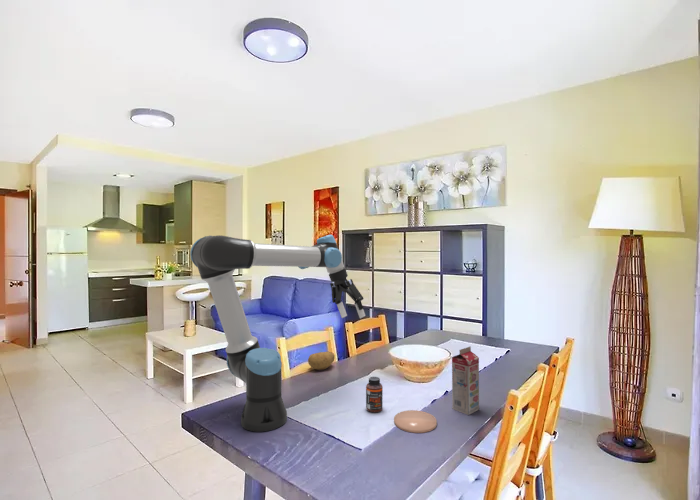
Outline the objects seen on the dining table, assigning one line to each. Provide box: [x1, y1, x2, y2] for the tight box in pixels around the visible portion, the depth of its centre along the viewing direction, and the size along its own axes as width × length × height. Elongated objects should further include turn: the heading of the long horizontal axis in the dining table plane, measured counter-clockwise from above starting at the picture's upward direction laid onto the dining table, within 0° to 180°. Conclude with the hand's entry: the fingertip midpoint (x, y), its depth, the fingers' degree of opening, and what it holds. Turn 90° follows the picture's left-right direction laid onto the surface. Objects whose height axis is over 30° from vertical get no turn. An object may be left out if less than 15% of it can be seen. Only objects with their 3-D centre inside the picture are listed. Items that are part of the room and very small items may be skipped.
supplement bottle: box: [365, 376, 384, 413], centre depth 136 cm, size 6×6×11 cm
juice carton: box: [451, 346, 480, 416], centre depth 135 cm, size 7×7×22 cm
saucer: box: [393, 409, 438, 434], centre depth 126 cm, size 14×14×1 cm
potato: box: [307, 351, 336, 371], centre depth 181 cm, size 10×14×8 cm
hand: (353, 317), depth 162 cm, fingers open, 13 cm apart
